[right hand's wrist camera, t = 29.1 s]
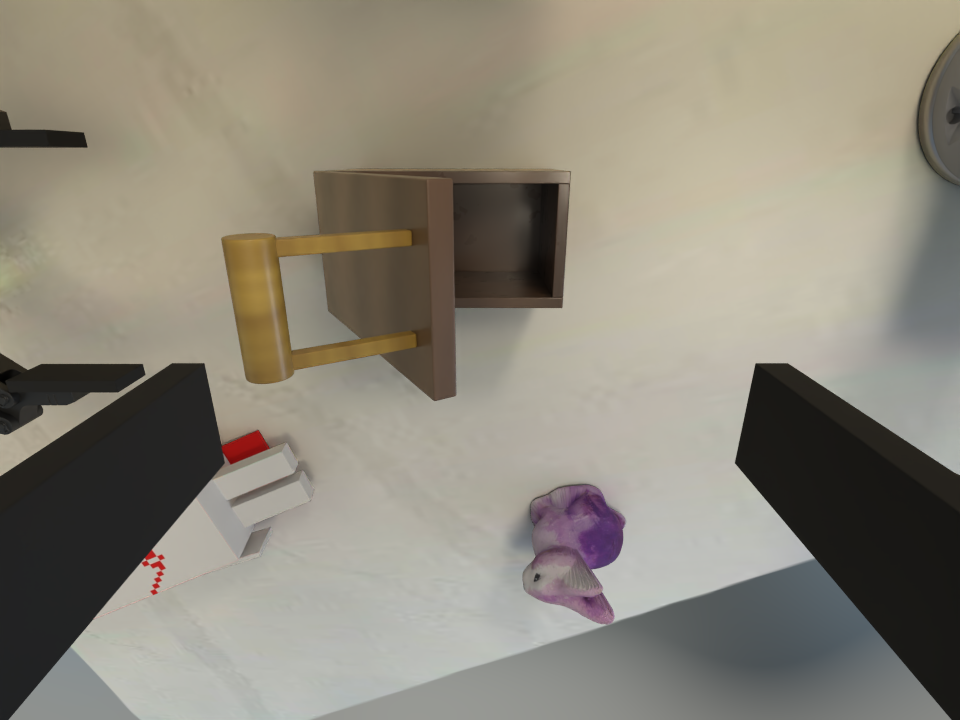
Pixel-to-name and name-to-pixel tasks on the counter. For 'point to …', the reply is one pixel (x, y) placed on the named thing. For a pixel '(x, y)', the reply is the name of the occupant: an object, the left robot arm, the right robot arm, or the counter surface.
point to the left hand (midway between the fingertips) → (102, 268)
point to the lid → (358, 280)
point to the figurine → (573, 549)
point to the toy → (221, 519)
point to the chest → (505, 234)
